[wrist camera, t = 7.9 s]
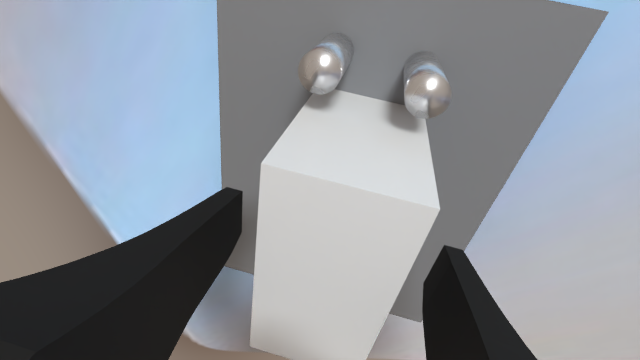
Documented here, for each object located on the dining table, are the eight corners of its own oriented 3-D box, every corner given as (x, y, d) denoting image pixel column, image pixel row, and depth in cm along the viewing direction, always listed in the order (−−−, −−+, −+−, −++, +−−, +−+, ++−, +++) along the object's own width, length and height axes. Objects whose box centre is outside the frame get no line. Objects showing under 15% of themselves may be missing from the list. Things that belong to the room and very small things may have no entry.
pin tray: (588, 8, 10) (686, 25, 7) (419, 304, 19) (423, 377, 16) (231, -60, 11) (154, -76, 8) (232, 251, 20) (197, 308, 17)
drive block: (424, 110, 12) (442, 209, 7) (370, 256, 16) (357, 380, 11) (317, 85, 12) (258, 162, 7) (293, 235, 16) (248, 346, 12)
